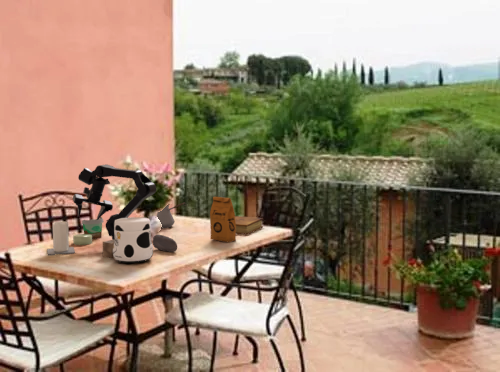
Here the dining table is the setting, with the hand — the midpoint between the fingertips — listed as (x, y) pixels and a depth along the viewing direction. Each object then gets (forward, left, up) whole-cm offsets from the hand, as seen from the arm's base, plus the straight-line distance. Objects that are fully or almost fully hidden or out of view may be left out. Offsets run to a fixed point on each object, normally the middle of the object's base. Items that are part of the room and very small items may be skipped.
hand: (87, 218), depth 311 cm
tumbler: (-7, +16, -13) cm, 21 cm away
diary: (-12, -81, -14) cm, 83 cm away
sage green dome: (+6, +1, -14) cm, 15 cm away
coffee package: (-31, -58, -14) cm, 67 cm away
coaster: (-6, +16, -13) cm, 22 cm away
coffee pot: (+16, -54, -14) cm, 58 cm away
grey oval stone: (-34, -24, -14) cm, 44 cm away
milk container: (-43, -3, -14) cm, 45 cm away
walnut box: (-30, +1, -13) cm, 33 cm away
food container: (+14, -9, -14) cm, 21 cm away
